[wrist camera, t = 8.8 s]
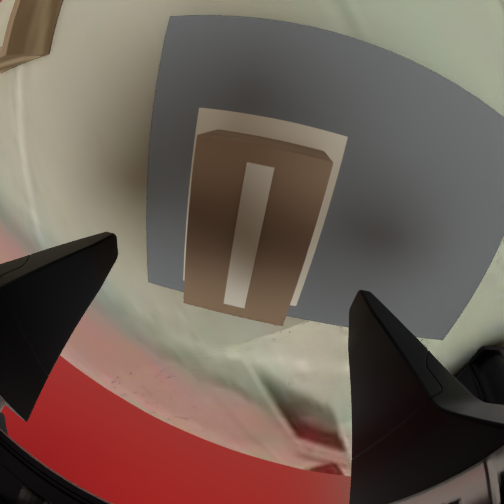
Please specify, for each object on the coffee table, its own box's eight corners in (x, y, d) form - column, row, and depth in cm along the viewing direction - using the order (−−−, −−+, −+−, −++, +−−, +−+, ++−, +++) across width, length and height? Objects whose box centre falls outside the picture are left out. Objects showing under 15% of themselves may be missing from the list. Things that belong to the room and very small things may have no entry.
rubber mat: (528, 141, 9) (533, 142, 8) (440, 335, 17) (443, 340, 16) (173, 19, 9) (169, 16, 9) (151, 278, 17) (147, 283, 17)
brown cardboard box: (285, 289, 16) (282, 327, 13) (200, 270, 16) (183, 304, 13) (324, 150, 12) (333, 163, 9) (217, 129, 12) (196, 135, 9)
